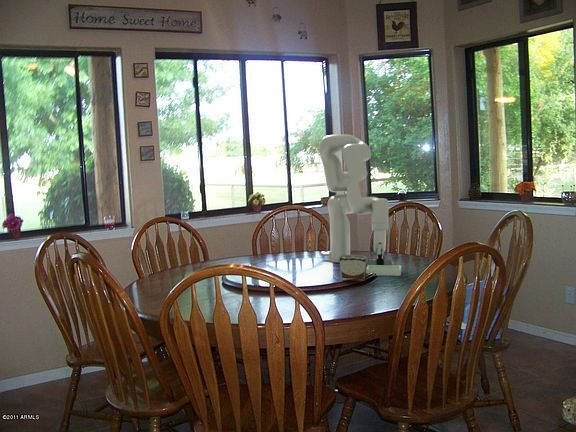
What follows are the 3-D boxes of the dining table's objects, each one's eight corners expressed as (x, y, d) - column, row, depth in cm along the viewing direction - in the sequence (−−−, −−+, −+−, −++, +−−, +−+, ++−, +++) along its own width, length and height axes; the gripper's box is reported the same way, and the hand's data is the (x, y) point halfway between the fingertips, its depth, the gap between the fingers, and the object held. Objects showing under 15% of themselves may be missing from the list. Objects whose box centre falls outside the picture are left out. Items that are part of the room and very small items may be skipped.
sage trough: (366, 275, 276) (366, 269, 276) (367, 270, 285) (367, 265, 284) (400, 275, 273) (400, 269, 273) (401, 271, 282) (401, 265, 282)
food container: (370, 278, 269) (370, 254, 268) (367, 281, 263) (367, 257, 262) (342, 277, 273) (341, 253, 272) (338, 280, 267) (337, 256, 266)
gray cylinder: (368, 269, 288) (368, 259, 287) (369, 267, 292) (369, 257, 292) (393, 269, 286) (393, 260, 285) (393, 267, 290) (393, 258, 289)
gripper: (372, 223, 296) (373, 263, 298) (370, 228, 279) (370, 270, 281) (389, 223, 294) (389, 263, 296) (387, 228, 278) (388, 270, 280)
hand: (380, 266), depth 289 cm, fingers closed on gray cylinder, 4 cm apart
